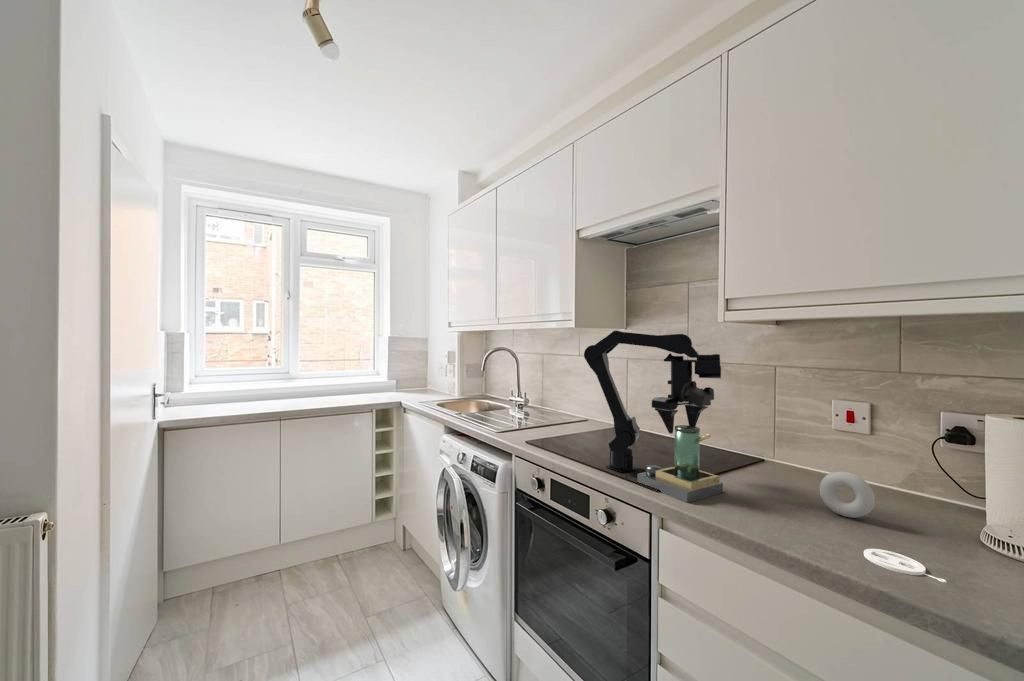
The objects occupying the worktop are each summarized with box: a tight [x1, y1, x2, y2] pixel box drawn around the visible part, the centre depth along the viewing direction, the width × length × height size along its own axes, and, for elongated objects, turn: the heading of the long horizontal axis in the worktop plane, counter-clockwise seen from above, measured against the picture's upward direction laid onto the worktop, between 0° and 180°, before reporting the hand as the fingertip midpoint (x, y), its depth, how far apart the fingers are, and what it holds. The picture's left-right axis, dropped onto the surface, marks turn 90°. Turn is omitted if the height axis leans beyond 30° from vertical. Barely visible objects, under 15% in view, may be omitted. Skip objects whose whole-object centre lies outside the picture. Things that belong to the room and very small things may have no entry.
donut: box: [818, 470, 876, 519], centre depth 94 cm, size 10×4×10 cm, turn 39°
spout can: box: [674, 424, 712, 481], centre depth 109 cm, size 10×6×14 cm, turn 35°
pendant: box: [863, 548, 948, 584], centre depth 74 cm, size 7×11×1 cm, turn 31°
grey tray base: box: [636, 464, 724, 503], centre depth 112 cm, size 16×14×4 cm
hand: (681, 431), depth 121 cm, fingers open, 9 cm apart
